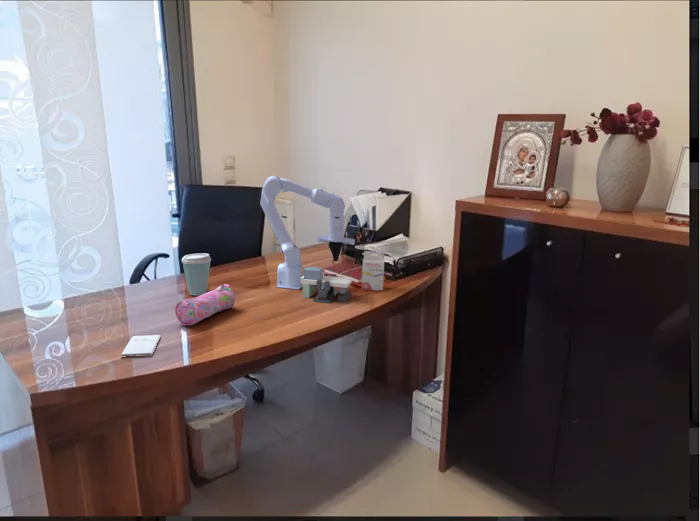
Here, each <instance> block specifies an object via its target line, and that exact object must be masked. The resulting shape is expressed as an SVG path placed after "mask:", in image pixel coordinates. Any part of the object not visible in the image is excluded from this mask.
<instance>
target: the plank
mask: <svg viewBox="0 0 700 521" xmlns="http://www.w3.org/2000/svg"><path fill="white" fill-rule="evenodd" d="M321 280H322V287H321V289H324V282H325V281H330V286H334V288H339V294H341V293H343V294H345V293H346V292H347V291H349V289H350V285H351V284H352V282H353V278H351V277H350V278H348V277H342V276H336V277H331V276H330V275H329V276H324V275H323V278H322V279H321ZM301 283H303V284H313V285H315V286H317V280H309V279H304V275H302V277H301Z"/></svg>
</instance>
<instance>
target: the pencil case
mask: <svg viewBox="0 0 700 521" xmlns="http://www.w3.org/2000/svg"><path fill="white" fill-rule="evenodd" d="M235 298H236V297H235V293H234V290H233V289H232V288H231V285H230V284H227V283H224V284H221V285H219V286H218V287H216V289H215V288H214V290H210V291H206V293H205V294H203V295H197V296H195V297H192V298H187V299H182V300H180V301H178V302H177V303H176V305H175V308H174V310H175V311H174V313H175V315H176V318H177V320H178V321H179V322H180V324H181V325H183V326H186V325H187V326H194V325H196V324H198V323H200V321H203V320H204V319H207V318H209V317H211V316H213V315H214V314H216V313H219V312H222V311H225V310H228V309H232V308H234V306H235V302H236V301H235Z"/></svg>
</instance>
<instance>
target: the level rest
mask: <svg viewBox="0 0 700 521" xmlns="http://www.w3.org/2000/svg"><path fill="white" fill-rule="evenodd" d="M314 294H316V285H313V284H303V286H302V298H304V299H305V298H306V299H310V298H311V297H312V296H313V295H314Z"/></svg>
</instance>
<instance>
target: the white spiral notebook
mask: <svg viewBox="0 0 700 521" xmlns="http://www.w3.org/2000/svg"><path fill="white" fill-rule="evenodd" d="M160 337H161V338H162V335H160V334H151V335H148V334H146V335H133V336H132V337H131V338H130V339H129V341H128V343H127V344H126V346H125V347H124V349H123V350H122V352H121V354H120V357H121V356H131V355H132V356H136V355H152V354H153V355H154V353H155V351H156V349H157V347H158V345H157V343H158V341H159V339H160ZM160 340H161V339H160ZM159 342H160V341H159ZM158 344H159V343H158ZM156 346H157V347H156ZM155 348H156V349H155ZM154 350H155V351H154ZM153 352H154V353H153ZM153 355H152V356H153Z"/></svg>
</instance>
